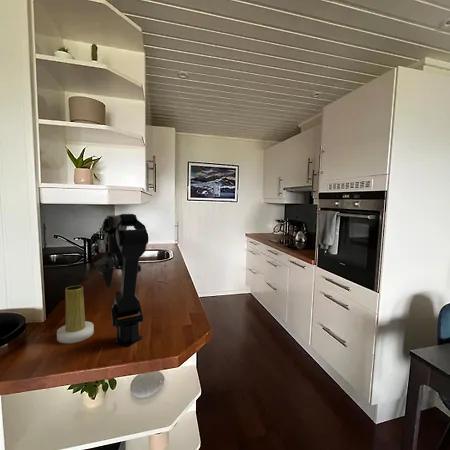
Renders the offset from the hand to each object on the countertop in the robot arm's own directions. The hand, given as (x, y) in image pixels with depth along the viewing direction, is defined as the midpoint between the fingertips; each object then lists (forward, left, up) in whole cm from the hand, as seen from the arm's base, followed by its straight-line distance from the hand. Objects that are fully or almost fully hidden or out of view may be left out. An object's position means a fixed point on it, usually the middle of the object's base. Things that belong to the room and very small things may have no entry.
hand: (117, 288), depth 101 cm
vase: (+5, +14, -11) cm, 18 cm away
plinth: (+5, +14, -13) cm, 20 cm away
